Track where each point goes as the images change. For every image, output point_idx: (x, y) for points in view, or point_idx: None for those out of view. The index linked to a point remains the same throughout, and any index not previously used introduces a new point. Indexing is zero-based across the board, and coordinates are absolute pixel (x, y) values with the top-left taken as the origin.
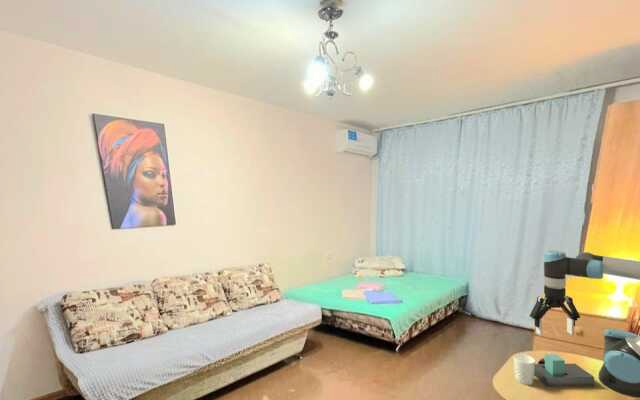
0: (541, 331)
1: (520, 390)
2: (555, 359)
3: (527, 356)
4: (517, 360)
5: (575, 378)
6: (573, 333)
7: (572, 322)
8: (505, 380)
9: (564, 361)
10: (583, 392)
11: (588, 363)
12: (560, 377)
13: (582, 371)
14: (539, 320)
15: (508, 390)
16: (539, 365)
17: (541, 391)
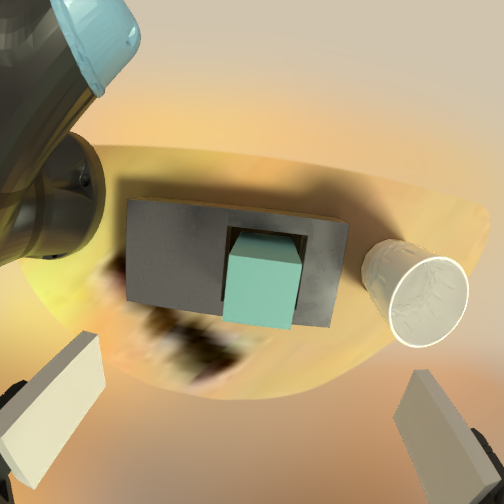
0: (434, 395)
1: (443, 216)
2: (276, 272)
3: (392, 325)
4: (468, 291)
5: (210, 206)
6: (77, 337)
7: (13, 414)
8: None
9: (231, 253)
10: (219, 163)
11: (65, 319)
12: (283, 214)
13: (141, 242)
14: (492, 488)
15: (474, 224)
16: (300, 314)
17: (381, 195)
